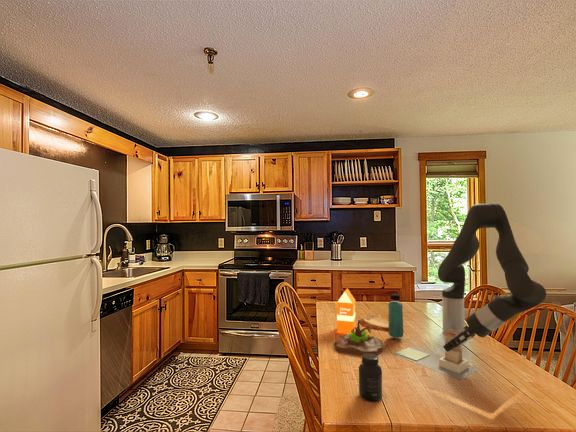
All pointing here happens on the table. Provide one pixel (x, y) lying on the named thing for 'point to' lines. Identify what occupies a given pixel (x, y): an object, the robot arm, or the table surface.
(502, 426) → the table surface
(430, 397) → the table surface
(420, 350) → the board
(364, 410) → the table surface
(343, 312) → the orange juice
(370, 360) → the supplement bottle
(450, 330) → the wooden block tower
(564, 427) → the table surface
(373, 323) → the slice of bread
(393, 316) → the beverage bottle
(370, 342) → the plant
